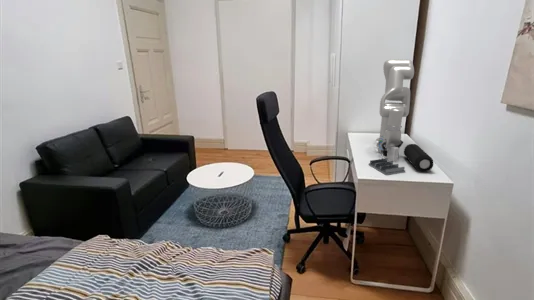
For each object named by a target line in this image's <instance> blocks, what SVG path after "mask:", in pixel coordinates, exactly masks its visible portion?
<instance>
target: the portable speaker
mask: <svg viewBox="0 0 534 300" xmlns="http://www.w3.org/2000/svg"><path fill="white" fill-rule="evenodd" d="M403 155H404V156H405V157H406V159H407V160H408V161H409V162H410V163H411V164H412V166H414V167H415V169H416V170H418V171H419V172H423V173H424V172H428V171H431V170H432V169H433V167H434V159H433V158H432V157H431V156H430V155H429V154H428V153H427V152H426V151H424V150H423V149H422V148H421V147H420V146H419V145H418V144H415V143H408V144H407V145H406V146H405V147H404V149H403Z"/></svg>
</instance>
